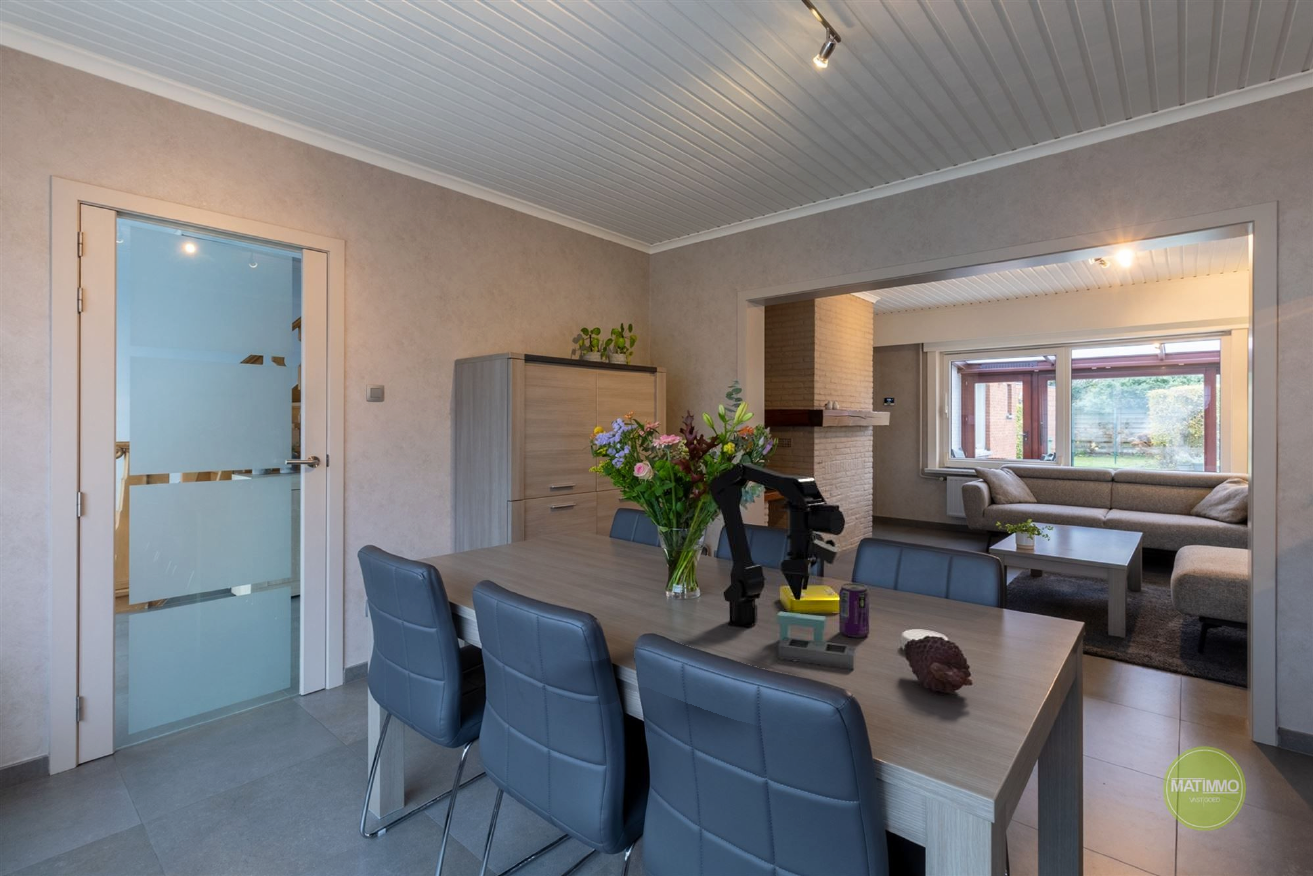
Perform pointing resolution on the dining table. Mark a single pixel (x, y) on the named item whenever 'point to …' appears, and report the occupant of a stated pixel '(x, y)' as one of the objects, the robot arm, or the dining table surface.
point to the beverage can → (854, 610)
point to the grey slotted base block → (817, 652)
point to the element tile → (810, 600)
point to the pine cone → (938, 664)
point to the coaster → (918, 635)
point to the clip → (801, 624)
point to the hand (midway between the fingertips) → (801, 594)
